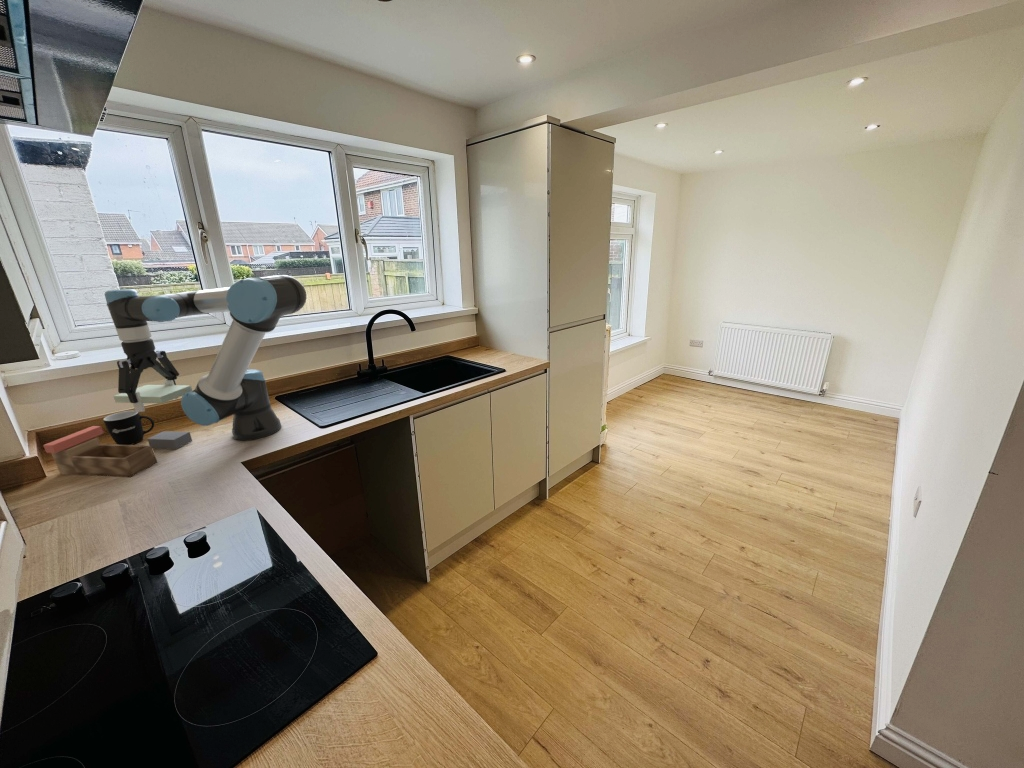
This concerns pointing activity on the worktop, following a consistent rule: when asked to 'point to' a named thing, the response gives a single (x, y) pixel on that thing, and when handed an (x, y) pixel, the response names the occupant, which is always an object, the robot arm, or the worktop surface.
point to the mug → (126, 427)
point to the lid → (156, 393)
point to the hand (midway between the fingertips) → (158, 404)
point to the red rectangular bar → (73, 439)
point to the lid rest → (170, 440)
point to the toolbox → (104, 459)
